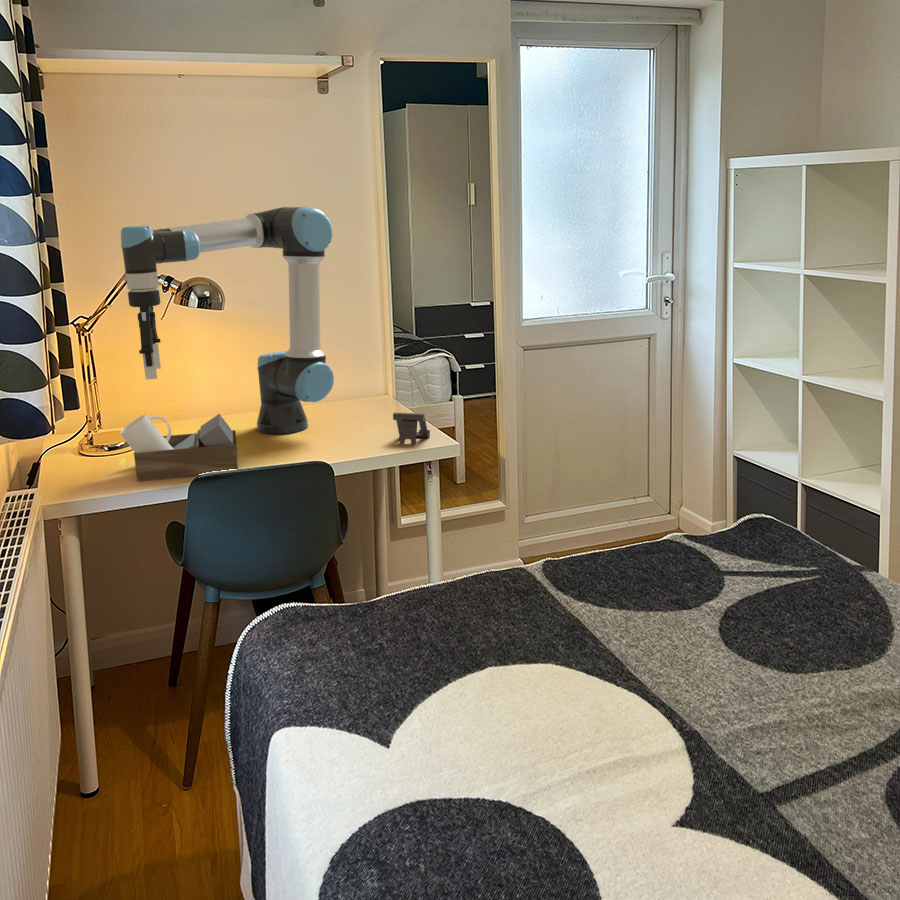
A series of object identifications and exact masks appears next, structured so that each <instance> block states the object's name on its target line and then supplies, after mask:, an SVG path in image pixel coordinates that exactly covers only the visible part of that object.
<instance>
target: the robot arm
mask: <svg viewBox="0 0 900 900" xmlns="http://www.w3.org/2000/svg"><path fill="white" fill-rule="evenodd" d="M332 239H333V227H332V223H331V221H330V218H328V216H327V215H326V214H325V213H324V212H323V211H322V210H320V209H317V208H314V207H309V206H300V207H299V206H295V207H289V206H288V207H287V206H285V207H284V206H283V207H277V208H276V207H275V208H273V209H269V210H264V211H260V212H255V213H248V214H247V215H246V216H245V218H244V217H243V218H237V219H228V220H221V221H213V222H206V223H204V222H203V223H198V224H197V223H196V224H191V225H181V226H173V227H168V228H159V229H152V227H151V226H150V225H134V226H133V225H131V226H129V225H128V226H124V227H122V228H121V230H120V241H121V242H120V244H121V245H120V247H121V250H122V256H123V266H124V272H125V276H124V277H123V281H125V282H126V288H127V289H128V290H130V291H128V292H127V296H128V305H129V307H131V308H139V312H138V313H137V320H138V321H137V322H138V328H139V334H140V349H139V350H138V351H139V354H140V355H141V354H142V360H143V369H144V375H145V376H144V377H145V380H157V379H158V374H157V370H159V369H160V370H161V369H162V366H161V359H160V357H161V356H160V350H159V348H160V347H159V343H161V338H159V336H158V332H157V326H156V312H155V311H154V307H155V306H159V305H160V304H161V295H160V290H159V289H157V288H160V287H159V286H160V285H159V276H158V271H157V269H158V268H157V264H167V263H168V264H169V263H178V262H186V263H187V262H188V261H195V260H196V259H198V257H199V255H200V254H201V253H208V252H209V253H210V252H214V251H222V250H228V249H233V248H234V249H236V248H243V247H249V246H250V247H251V248H253V249H260V248H261V249H262V248H269V249H270V248H273V249H281V250H282V258H283V259H284V260H285V261H286V262H287V263H288V305H289V307H288V309H289V312H288V313H289V349H288V350H283V351H276V352H269V353H265V354H261V355H259V356H258V358H257V373H258V383H259V396H260V408H259V411H258V417H257V421H256V430H257V431H258V432H259V433H262V434H267V435H281V434H292V433H297V432H300V431H303V430H306V429H308V427H309V422H308V421H309V420H308V417H307V415H306V413H305V410H304V407H303V405H302V402H304V403H318V402H319V401H322V400H324V399H325V398H326V397H327V396H328V394H330V392H331V391H332V389H333V386H334V383H335V378H334V377H335V376H334V372H333V369H332V368H331V367H330V366H329V365H328V364H327V363H326V362H327V361H326V360H327V359H326V358H327V357H326V356H327V355H326V353H325V352H324V351H323V349H322V348H321V308H320V307H321V306H320V305H321V304H320V303H321V302H320V301H321V300H320V299H321V298H320V297H321V296H320V293H321V292H320V289H321V285H320V282H321V281H320V263H321V262H322V261H323V260H324V259H325V252H326V251H325V249H327V248H328V247H329V244H331V242H332Z"/></svg>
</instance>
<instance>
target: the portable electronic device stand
mask: <svg viewBox="0 0 900 900" xmlns="http://www.w3.org/2000/svg"><path fill="white" fill-rule="evenodd" d="M392 420H393V421H396V427H397V431H398V435H399V444H405V442H406V440H410V444H412V445H416V444H417V439H419V438H421V439H430V437H431V432H430V431H431V430H430V429H428V427H427V422H426V416H425V413H424V412H423V413H418V412H410V413H409V412H393V414H392ZM418 423H419V429H418Z"/></svg>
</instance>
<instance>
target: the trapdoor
mask: <svg viewBox="0 0 900 900" xmlns="http://www.w3.org/2000/svg"><path fill="white" fill-rule="evenodd" d="M199 430H200V436H199V439H200V440H201V441H202V443H203V444H204V445H205V447H206V446H218V445H230V444H233V431H232V430H233V429H232V428H231V427H230V426H229V424H228V423H227V422H226V420H225V419H224V418H223V417H222V415H221V413H218V414H217V415H215V416H214V417H212V418H211V419H209V420H208V421H206V422H205V423H204V424H202V425H200V429H199ZM196 433H197V432H193V433H191V434H192V435H191V436H189V437H188V438H186V439H185V440H183V441H182V442H180V443H179V444H177V445H176V446H174V447H173V448H174V449H182V448H194V447H196V439H197V434H196Z"/></svg>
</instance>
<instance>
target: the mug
mask: <svg viewBox="0 0 900 900" xmlns="http://www.w3.org/2000/svg"><path fill="white" fill-rule="evenodd" d="M153 420H160V421H163V422H164V423H165V424H166V426H167V431H168V432H167V435H166V436H167V437H166V438H164V437H163V436H164V435H163V434H162V433H161V432H160V431H159V430H158V428H157V427H156V425H155V424H154V422H152V421H153ZM171 429H172V428H171V426H170V424H169V422H168V421H167V420H166V419H165V418H164V417H161V416H158V415H151V416H148V415H147V414H143V415H141V416H139V417H137V418H136V419H134V420H132V421H131V422H130V423H128V424H127V425H126V426H125V427H124V428H122V430H121V431H120V432H119V434H120V435H121V436H120V437H122V438H123V439H124V441H125V442H126V444H128V446H129V447H130V448H131V449H132V451H133V453H134V452H146V451H158V450H170V449H174V448H172V447H171V446H170V444H169V443H168V441H169V439H170V437H171V435H172V430H171Z"/></svg>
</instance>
